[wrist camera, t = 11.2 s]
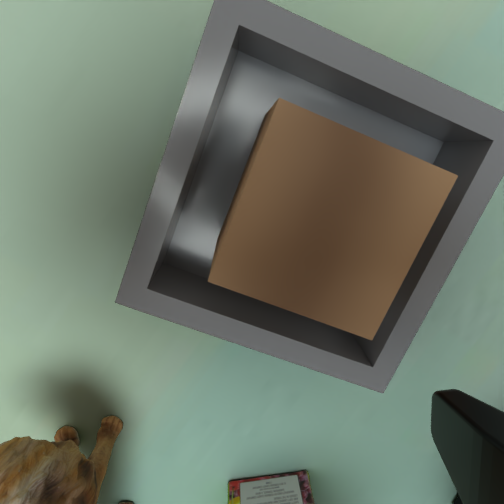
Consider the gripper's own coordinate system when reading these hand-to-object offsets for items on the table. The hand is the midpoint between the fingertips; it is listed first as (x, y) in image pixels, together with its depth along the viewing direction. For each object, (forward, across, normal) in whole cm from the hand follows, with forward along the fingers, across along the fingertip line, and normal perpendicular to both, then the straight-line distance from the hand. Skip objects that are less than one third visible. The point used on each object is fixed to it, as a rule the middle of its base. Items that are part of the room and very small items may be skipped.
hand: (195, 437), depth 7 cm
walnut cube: (+12, -4, -2) cm, 13 cm away
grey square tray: (+13, -4, -2) cm, 13 cm away
